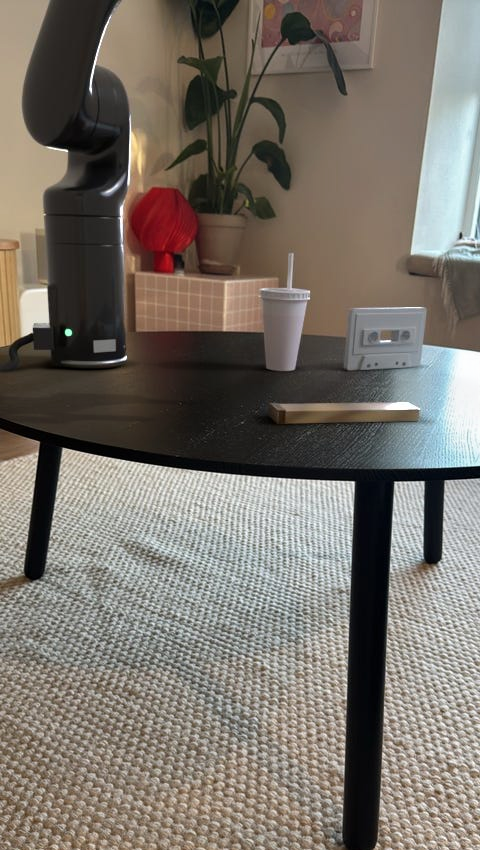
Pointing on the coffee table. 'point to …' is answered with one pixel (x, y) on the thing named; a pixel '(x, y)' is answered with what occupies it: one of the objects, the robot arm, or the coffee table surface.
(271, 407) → the batten
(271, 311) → the smoothie
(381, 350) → the cassette
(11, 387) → the coffee table surface
